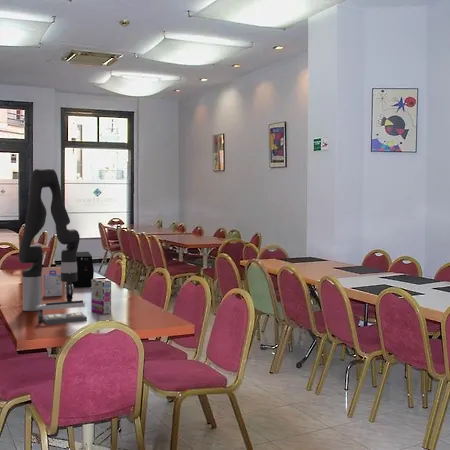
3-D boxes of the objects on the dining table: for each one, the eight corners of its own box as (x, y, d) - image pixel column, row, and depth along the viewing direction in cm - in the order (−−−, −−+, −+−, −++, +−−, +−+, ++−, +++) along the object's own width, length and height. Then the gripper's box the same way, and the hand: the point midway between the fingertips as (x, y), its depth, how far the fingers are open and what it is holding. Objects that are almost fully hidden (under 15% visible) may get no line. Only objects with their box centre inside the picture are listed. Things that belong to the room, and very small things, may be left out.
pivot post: (37, 322, 274) (37, 310, 274) (42, 321, 275) (42, 309, 275) (38, 323, 272) (38, 310, 272) (43, 322, 273) (42, 310, 273)
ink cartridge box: (61, 294, 351) (61, 269, 350) (62, 295, 346) (62, 271, 345) (43, 295, 347) (43, 270, 346) (45, 296, 342) (44, 271, 341)
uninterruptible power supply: (90, 280, 408) (90, 251, 407) (94, 287, 376) (94, 256, 375) (65, 281, 403) (65, 252, 402) (67, 289, 371) (67, 257, 370)
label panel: (42, 319, 280) (42, 313, 280) (81, 316, 288) (81, 310, 288) (47, 324, 269) (47, 318, 269) (86, 321, 277) (86, 315, 277)
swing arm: (37, 310, 271) (37, 304, 271) (36, 309, 274) (36, 303, 274) (84, 306, 281) (84, 300, 281) (83, 305, 284) (83, 299, 283)
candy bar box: (111, 313, 295) (111, 280, 294) (103, 315, 291) (103, 281, 291) (99, 310, 303) (99, 278, 302) (90, 311, 299) (90, 279, 298)
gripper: (60, 269, 288) (60, 305, 289) (61, 273, 275) (61, 310, 276) (76, 269, 290) (76, 304, 291) (78, 272, 277) (78, 309, 278)
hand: (69, 307), depth 283 cm, fingers closed
